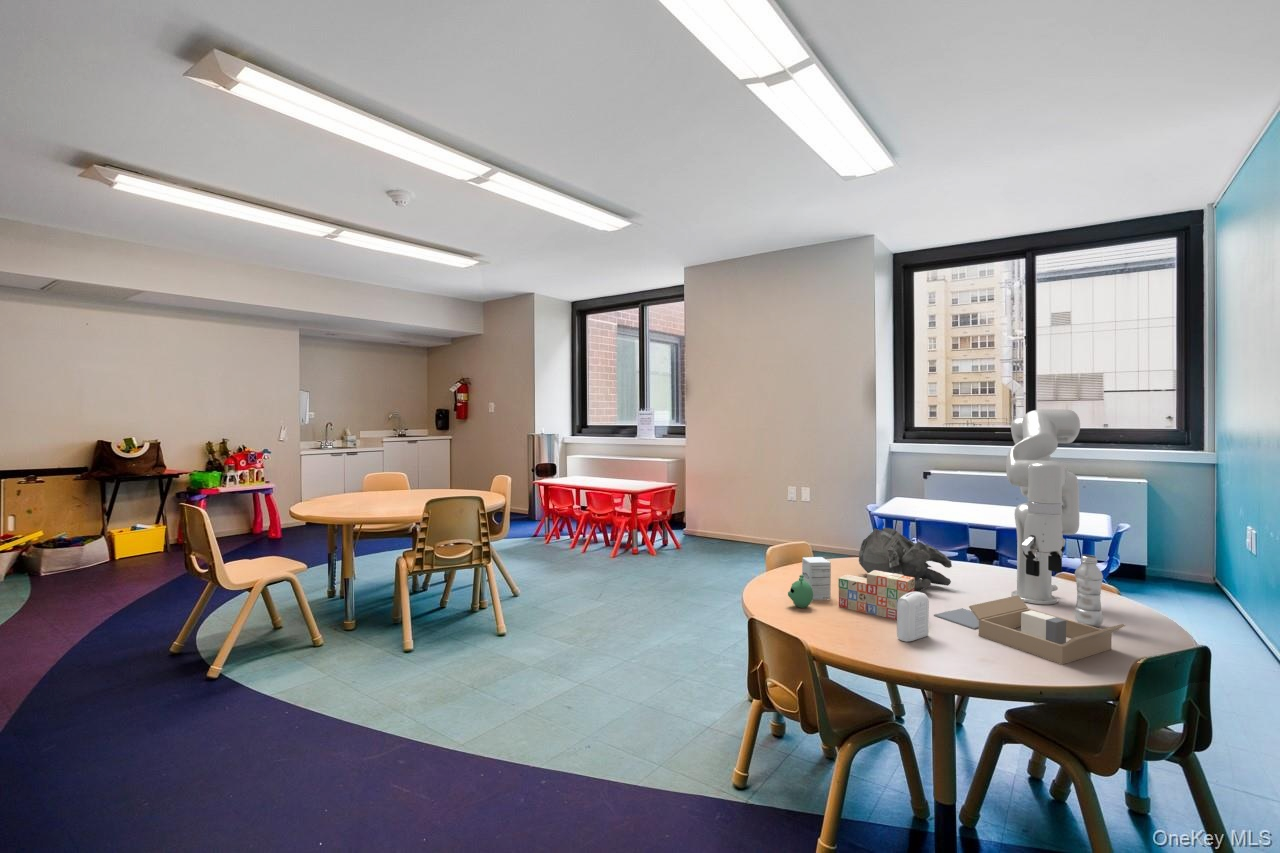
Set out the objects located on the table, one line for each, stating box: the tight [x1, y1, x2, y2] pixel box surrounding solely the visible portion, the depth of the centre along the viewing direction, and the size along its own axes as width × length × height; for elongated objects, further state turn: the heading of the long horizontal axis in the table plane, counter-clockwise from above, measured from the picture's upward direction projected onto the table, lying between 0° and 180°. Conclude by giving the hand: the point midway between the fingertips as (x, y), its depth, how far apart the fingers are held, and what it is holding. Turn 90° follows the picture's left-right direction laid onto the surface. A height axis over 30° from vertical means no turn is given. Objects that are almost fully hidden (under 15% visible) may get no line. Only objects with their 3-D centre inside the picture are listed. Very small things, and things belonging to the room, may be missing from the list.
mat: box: [933, 608, 979, 630], centre depth 181 cm, size 13×13×1 cm
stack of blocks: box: [838, 570, 916, 620], centre depth 188 cm, size 21×6×12 cm, turn 47°
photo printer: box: [896, 591, 930, 643], centre depth 166 cm, size 10×4×12 cm, turn 123°
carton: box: [968, 595, 1126, 665], centre depth 162 cm, size 22×28×8 cm
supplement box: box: [801, 556, 832, 601], centre depth 203 cm, size 7×7×13 cm
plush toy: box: [858, 527, 953, 592], centre depth 220 cm, size 27×26×20 cm
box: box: [1020, 609, 1067, 645], centre depth 162 cm, size 4×9×7 cm, turn 26°
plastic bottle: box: [1073, 554, 1104, 628], centre depth 175 cm, size 6×7×20 cm
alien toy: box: [787, 574, 813, 609], centre depth 192 cm, size 7×8×10 cm
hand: (1043, 573), depth 162 cm, fingers open, 9 cm apart
